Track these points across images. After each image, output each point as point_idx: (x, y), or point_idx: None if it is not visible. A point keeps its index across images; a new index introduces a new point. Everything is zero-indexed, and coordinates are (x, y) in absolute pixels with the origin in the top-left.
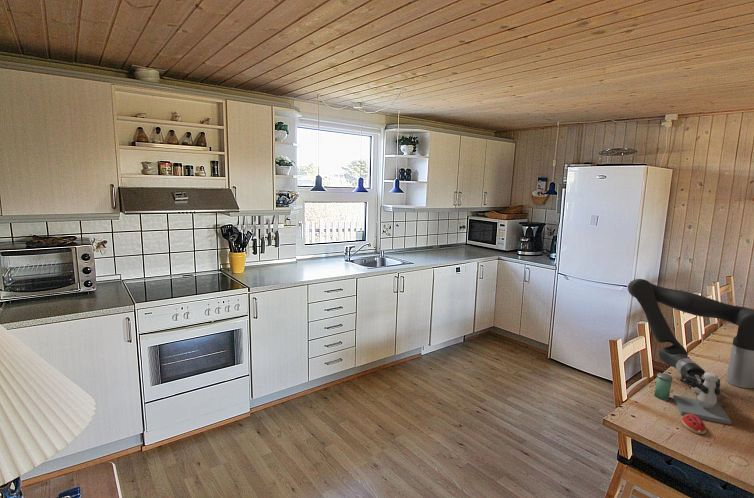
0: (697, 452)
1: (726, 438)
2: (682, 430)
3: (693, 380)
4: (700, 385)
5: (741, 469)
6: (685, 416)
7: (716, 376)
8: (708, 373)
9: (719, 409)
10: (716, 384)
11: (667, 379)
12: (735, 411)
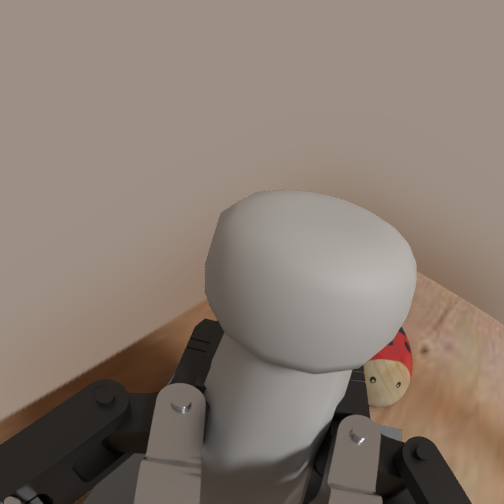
0: None
1: None
2: (411, 341)
3: (423, 474)
4: (364, 406)
5: None
6: (410, 360)
7: (276, 191)
8: (375, 222)
9: (139, 466)
10: (128, 413)
11: None
12: None
